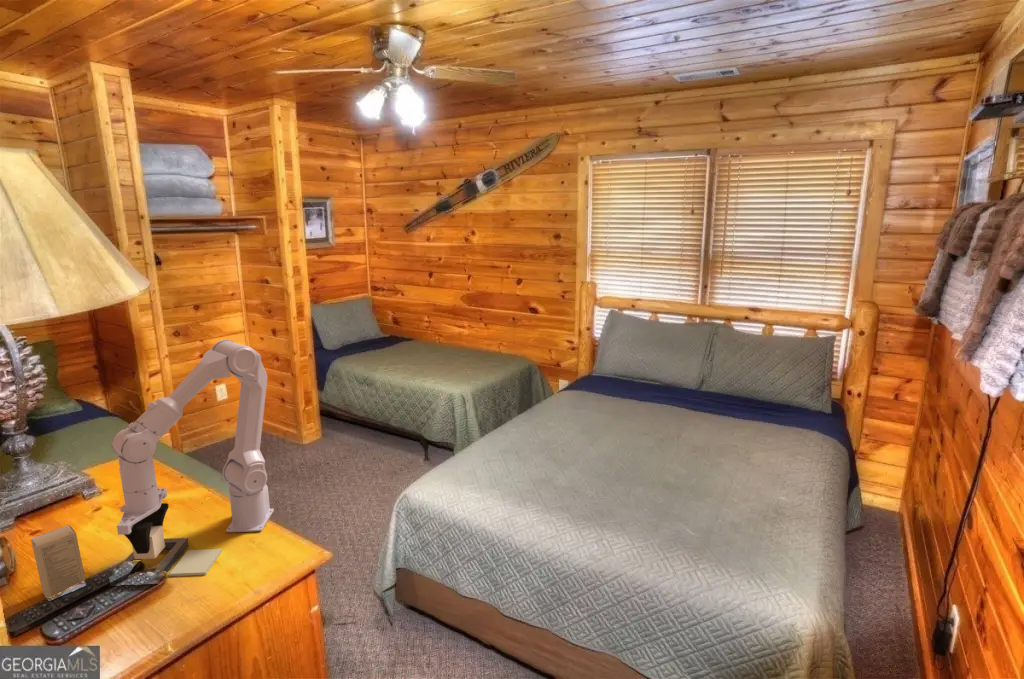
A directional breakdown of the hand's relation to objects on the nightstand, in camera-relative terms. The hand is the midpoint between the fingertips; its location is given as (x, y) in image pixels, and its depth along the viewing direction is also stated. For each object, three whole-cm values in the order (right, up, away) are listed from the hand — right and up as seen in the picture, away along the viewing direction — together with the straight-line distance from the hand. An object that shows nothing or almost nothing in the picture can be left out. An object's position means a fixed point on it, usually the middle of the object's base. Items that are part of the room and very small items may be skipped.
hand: (149, 545), depth 115 cm
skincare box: (-12, -6, -7) cm, 15 cm away
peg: (0, -2, 0) cm, 2 cm away
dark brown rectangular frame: (0, -4, +1) cm, 4 cm away
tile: (+9, -4, +2) cm, 10 cm away
